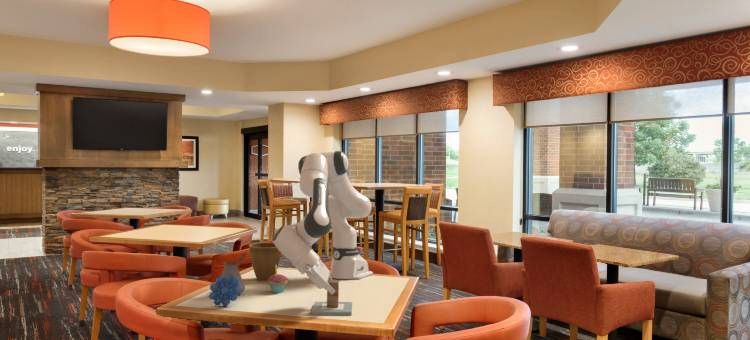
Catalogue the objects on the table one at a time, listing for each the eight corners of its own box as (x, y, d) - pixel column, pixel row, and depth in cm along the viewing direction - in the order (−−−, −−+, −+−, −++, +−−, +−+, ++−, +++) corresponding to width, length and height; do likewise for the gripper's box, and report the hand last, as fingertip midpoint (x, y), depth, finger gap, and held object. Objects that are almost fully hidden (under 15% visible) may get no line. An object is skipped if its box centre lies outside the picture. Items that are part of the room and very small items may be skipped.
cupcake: (283, 294, 220) (283, 265, 220) (263, 293, 222) (264, 263, 222) (290, 289, 229) (291, 261, 229) (271, 288, 231) (272, 260, 231)
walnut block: (327, 304, 200) (327, 280, 200) (338, 305, 200) (338, 280, 200) (326, 307, 196) (327, 282, 196) (338, 307, 196) (338, 283, 196)
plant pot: (242, 279, 249) (243, 244, 249) (270, 275, 259) (271, 241, 259) (259, 284, 238) (259, 248, 238) (287, 280, 248) (288, 245, 248)
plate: (315, 304, 205) (315, 301, 205) (352, 305, 205) (352, 301, 205) (311, 314, 191) (311, 311, 191) (351, 315, 191) (351, 311, 191)
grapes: (242, 302, 206) (242, 271, 206) (240, 307, 199) (240, 274, 199) (210, 303, 204) (211, 271, 204) (207, 308, 198) (208, 275, 198)
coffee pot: (238, 298, 212) (238, 260, 212) (210, 297, 214) (211, 259, 214) (258, 287, 233) (259, 252, 233) (233, 285, 235) (234, 251, 235)
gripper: (311, 261, 187) (339, 290, 187) (316, 252, 208) (341, 278, 208) (298, 274, 187) (326, 302, 187) (304, 263, 208) (329, 289, 208)
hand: (334, 289), depth 198 cm, fingers open, 8 cm apart
